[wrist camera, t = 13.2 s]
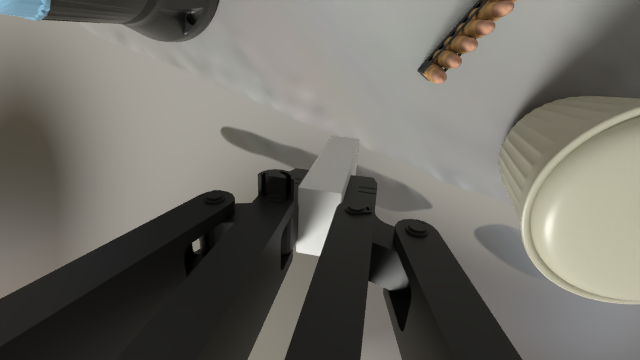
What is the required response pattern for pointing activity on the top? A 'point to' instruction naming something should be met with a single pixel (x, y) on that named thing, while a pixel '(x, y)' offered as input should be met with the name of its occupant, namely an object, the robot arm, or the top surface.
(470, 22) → the ammunition clip
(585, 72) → the top surface
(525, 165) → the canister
